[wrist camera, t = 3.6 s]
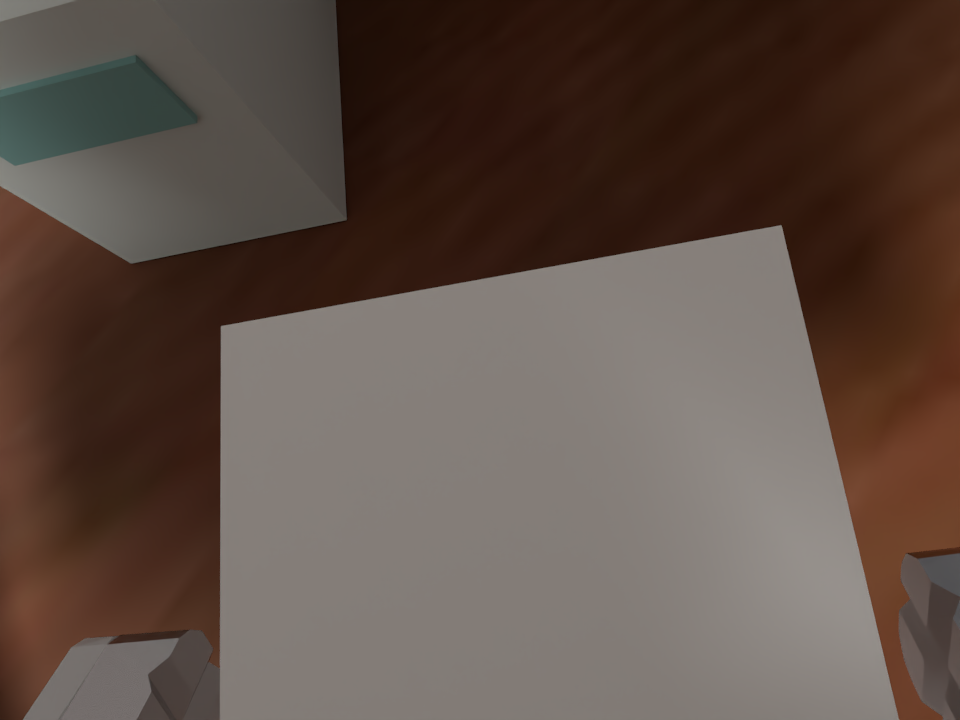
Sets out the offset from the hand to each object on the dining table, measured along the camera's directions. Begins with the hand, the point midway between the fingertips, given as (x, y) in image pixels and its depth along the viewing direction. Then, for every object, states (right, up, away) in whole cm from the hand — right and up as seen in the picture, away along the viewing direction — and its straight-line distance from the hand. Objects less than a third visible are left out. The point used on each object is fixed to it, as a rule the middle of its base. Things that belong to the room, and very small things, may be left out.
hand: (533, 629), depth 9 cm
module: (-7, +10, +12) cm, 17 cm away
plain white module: (+2, -2, +6) cm, 7 cm away
